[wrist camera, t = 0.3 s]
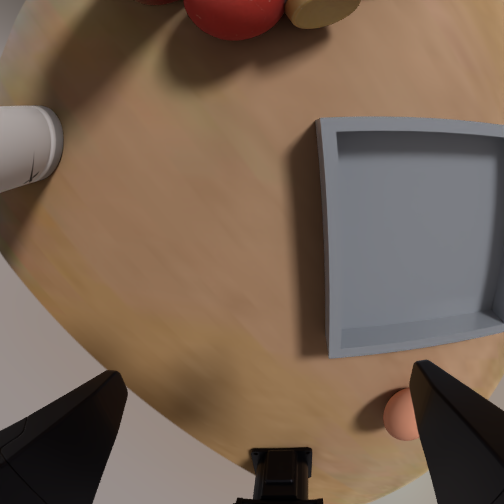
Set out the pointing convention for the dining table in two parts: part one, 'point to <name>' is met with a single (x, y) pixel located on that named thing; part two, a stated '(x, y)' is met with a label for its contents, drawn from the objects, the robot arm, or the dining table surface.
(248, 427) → the dining table surface
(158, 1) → the soda can
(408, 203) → the tray
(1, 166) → the travel mug
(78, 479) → the robot arm
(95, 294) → the dining table surface
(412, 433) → the ball
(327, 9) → the kendama
